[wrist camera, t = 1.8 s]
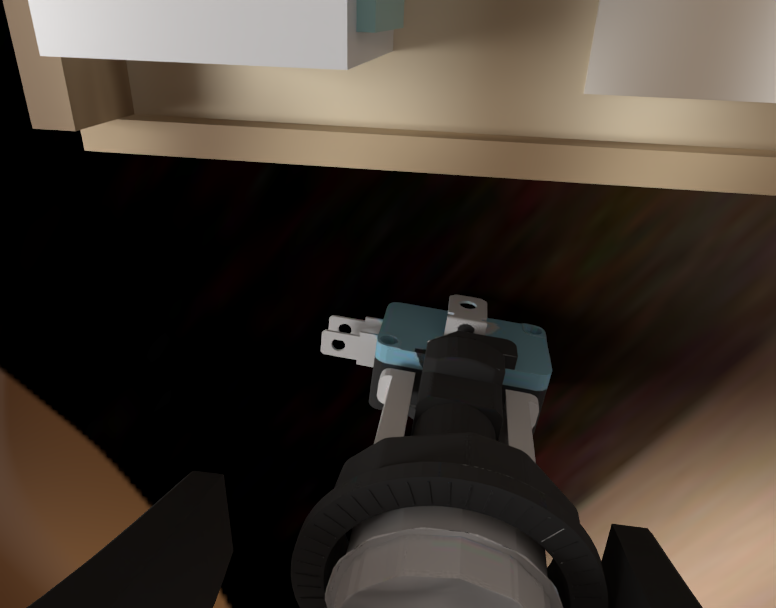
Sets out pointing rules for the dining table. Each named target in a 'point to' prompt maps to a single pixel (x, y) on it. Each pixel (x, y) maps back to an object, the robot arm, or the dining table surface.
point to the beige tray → (461, 96)
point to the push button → (447, 476)
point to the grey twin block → (220, 31)
